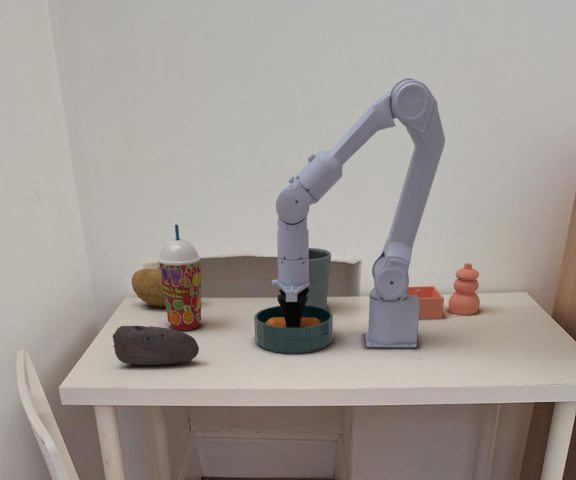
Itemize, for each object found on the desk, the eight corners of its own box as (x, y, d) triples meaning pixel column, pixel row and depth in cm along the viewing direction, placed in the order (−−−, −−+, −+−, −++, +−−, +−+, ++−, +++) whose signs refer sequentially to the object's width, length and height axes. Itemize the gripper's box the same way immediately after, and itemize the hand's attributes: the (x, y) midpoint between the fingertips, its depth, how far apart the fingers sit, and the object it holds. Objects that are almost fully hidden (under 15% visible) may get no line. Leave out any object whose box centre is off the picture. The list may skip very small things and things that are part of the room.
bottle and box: (399, 319, 157) (402, 271, 152) (392, 306, 165) (394, 260, 160) (484, 317, 158) (490, 269, 152) (472, 304, 166) (478, 258, 160)
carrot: (321, 333, 147) (322, 315, 145) (321, 339, 144) (321, 320, 142) (266, 333, 147) (265, 314, 145) (264, 338, 144) (264, 320, 142)
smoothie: (157, 330, 153) (146, 227, 143) (177, 318, 160) (168, 219, 149) (193, 334, 150) (185, 230, 140) (212, 322, 157) (205, 222, 146)
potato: (192, 312, 163) (189, 274, 159) (129, 311, 164) (124, 274, 160) (200, 299, 172) (197, 263, 168) (140, 299, 173) (135, 263, 169)
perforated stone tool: (202, 358, 138) (199, 321, 135) (198, 369, 134) (195, 331, 130) (121, 358, 139) (116, 322, 135) (115, 369, 134) (109, 331, 131)
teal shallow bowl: (332, 329, 152) (332, 304, 149) (332, 354, 139) (332, 328, 137) (259, 328, 153) (258, 304, 150) (252, 354, 140) (251, 328, 138)
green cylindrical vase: (314, 300, 170) (315, 245, 163) (339, 311, 162) (340, 254, 156) (276, 307, 165) (274, 251, 159) (299, 319, 158) (299, 261, 152)
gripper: (274, 247, 144) (275, 317, 151) (268, 266, 132) (270, 341, 139) (310, 247, 144) (310, 317, 151) (308, 266, 131) (308, 341, 138)
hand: (293, 328), depth 145 cm, fingers closed on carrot, 3 cm apart
